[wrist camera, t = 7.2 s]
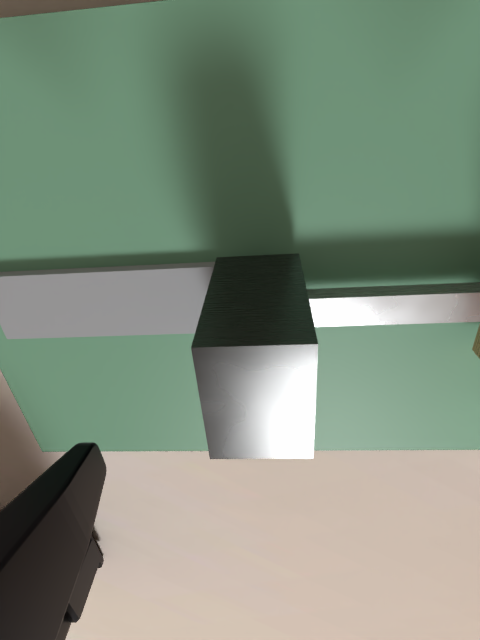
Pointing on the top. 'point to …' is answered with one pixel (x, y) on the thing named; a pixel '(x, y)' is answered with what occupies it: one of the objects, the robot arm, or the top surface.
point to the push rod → (289, 347)
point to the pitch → (235, 206)
